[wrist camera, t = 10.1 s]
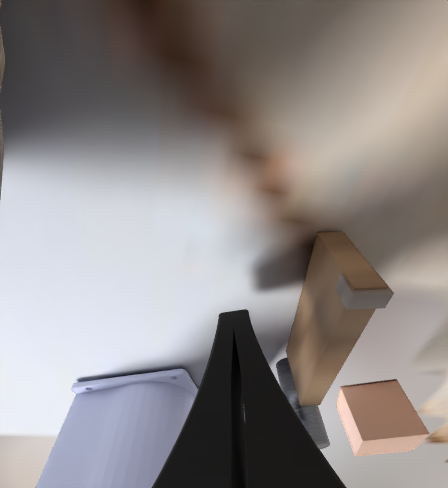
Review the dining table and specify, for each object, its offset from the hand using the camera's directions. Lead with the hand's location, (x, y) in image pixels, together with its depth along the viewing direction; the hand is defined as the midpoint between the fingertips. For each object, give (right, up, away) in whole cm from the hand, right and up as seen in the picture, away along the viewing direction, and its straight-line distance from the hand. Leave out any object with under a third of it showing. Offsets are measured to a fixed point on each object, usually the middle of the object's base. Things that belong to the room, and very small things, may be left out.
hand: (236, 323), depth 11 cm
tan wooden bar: (+5, 0, +3) cm, 5 cm away
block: (+13, -11, +11) cm, 20 cm away
